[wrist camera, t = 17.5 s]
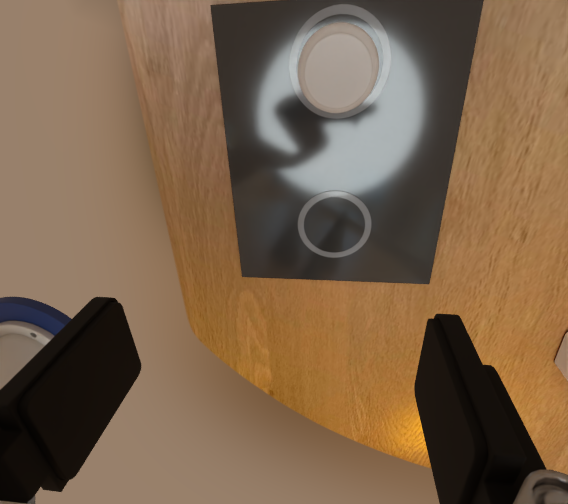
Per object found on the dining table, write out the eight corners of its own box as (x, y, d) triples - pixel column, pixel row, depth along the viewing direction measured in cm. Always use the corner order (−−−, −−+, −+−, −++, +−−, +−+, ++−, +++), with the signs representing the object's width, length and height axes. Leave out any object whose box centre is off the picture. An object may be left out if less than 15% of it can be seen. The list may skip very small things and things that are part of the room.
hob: (242, 275, 39) (241, 277, 39) (211, 5, 27) (209, 4, 27) (428, 282, 37) (429, 284, 36) (484, -14, 25) (487, -15, 24)
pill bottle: (301, 33, 27) (287, 24, 19) (371, 23, 26) (385, 8, 18) (307, 106, 30) (297, 124, 22) (371, 99, 29) (384, 115, 21)
